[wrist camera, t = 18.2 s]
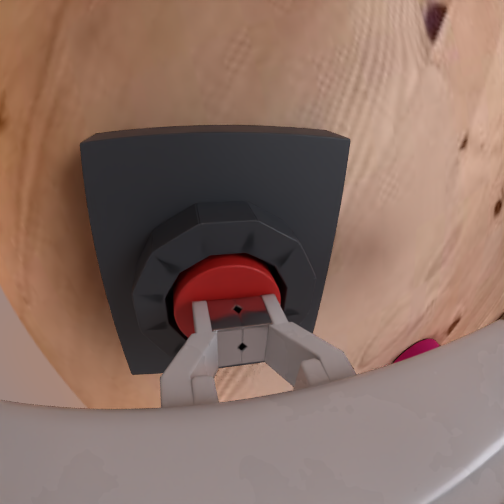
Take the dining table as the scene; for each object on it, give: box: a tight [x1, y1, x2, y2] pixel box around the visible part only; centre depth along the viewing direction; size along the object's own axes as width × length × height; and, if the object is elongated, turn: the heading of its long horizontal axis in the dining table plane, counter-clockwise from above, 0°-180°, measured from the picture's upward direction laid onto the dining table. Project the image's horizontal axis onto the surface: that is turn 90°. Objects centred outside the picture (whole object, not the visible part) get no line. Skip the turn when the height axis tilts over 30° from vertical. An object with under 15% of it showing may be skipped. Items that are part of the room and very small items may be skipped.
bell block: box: [80, 125, 350, 375], centre depth 13 cm, size 12×10×4 cm
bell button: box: [173, 253, 281, 338], centre depth 12 cm, size 4×4×2 cm
